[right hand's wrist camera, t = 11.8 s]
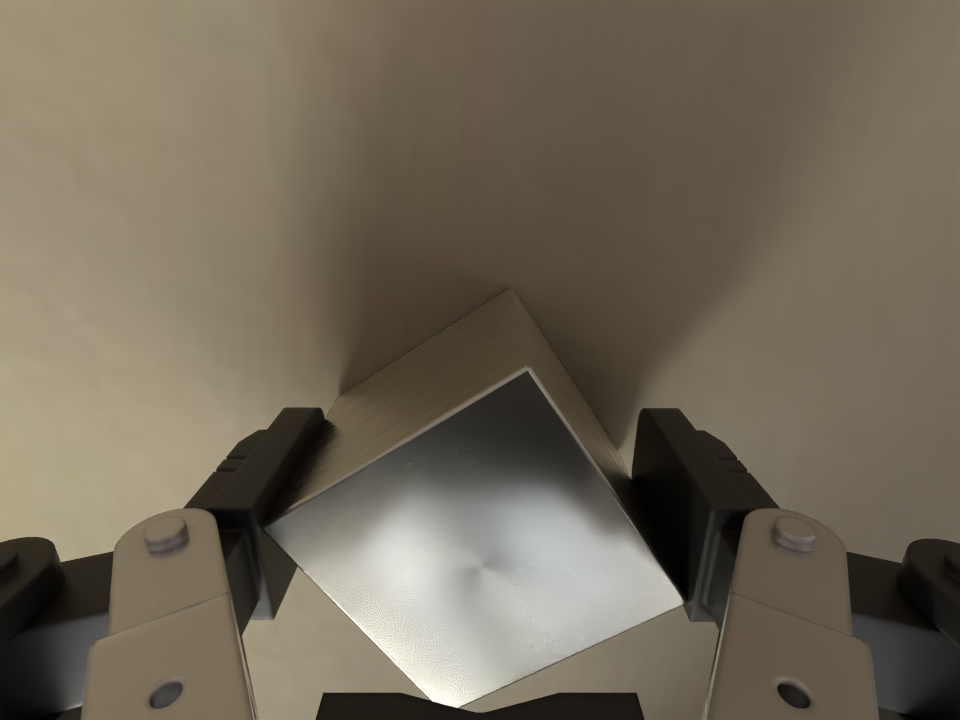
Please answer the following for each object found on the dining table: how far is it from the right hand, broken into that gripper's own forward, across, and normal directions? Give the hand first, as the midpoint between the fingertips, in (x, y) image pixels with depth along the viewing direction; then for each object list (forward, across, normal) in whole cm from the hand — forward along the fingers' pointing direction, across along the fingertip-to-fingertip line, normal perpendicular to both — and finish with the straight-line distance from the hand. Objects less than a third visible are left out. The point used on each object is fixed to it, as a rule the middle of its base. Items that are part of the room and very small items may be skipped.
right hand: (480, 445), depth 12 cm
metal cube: (+1, 0, 0) cm, 1 cm away
